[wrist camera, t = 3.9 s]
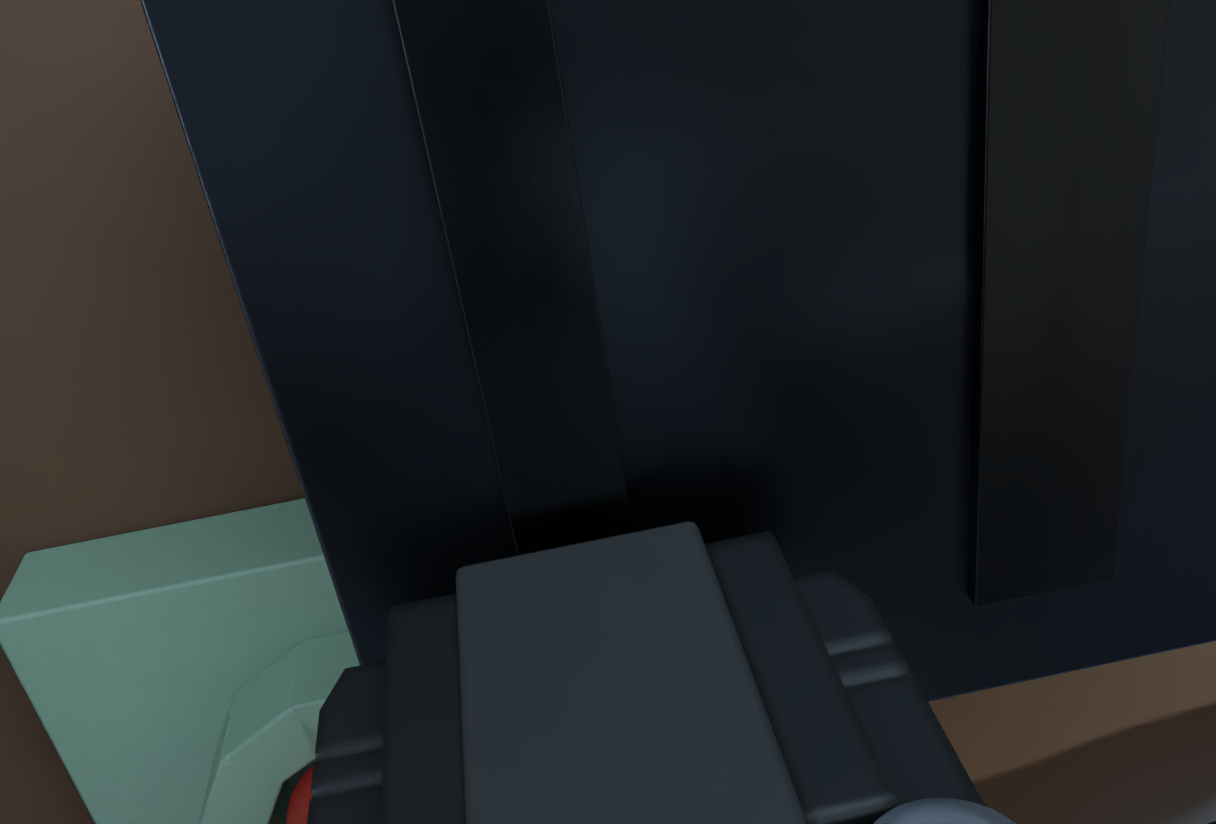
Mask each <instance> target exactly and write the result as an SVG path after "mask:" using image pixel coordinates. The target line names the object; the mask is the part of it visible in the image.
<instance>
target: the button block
mask: <svg viewBox="0 0 1216 824" xmlns="http://www.w3.org/2000/svg"><path fill="white" fill-rule="evenodd" d="M0 645H1V647H2V649H3V651H4V652H5V654H6V656H7V658H8V660H9V662H10V664H11V666H12V667H13V669H14V671H15V673H16V675H17V677H18V679H19V681H20V683H21V684H22V686H23V688H24V690H25V692H26V694H27V696H28V698H29V700H30V701H31V703H32V705H33V707H34V709H35V711H36V713H37V715H38V716H39V718H40V720H41V722H42V724H43V726H44V728H45V730H46V732H47V733H48V735H49V737H50V739H51V741H52V743H53V745H54V747H55V748H56V750H57V752H58V754H59V756H60V758H61V760H62V762H63V764H64V765H65V767H66V769H67V771H68V773H69V775H70V777H71V779H72V781H73V782H74V784H75V786H76V788H77V790H78V792H79V794H80V796H81V797H82V799H83V801H84V803H85V805H86V807H87V809H88V811H89V813H90V814H91V816H92V818H93V820H94V822H95V824H286V820H287V812H288V805H289V801H290V797H291V794H292V792H293V790H294V788H295V786H296V784H297V783H298V781H299V780H300V779H301V777H302V776H303V775H304V774H305V773H306V772H307V771H308V769H309V768H311V767H312V766H313V764H314V762H316V757H315V746H316V737H317V729H318V720H319V711H320V709H321V707H322V705H323V704H324V702H325V700H326V699H327V697H328V696H329V694H330V692H331V691H332V689H333V687H334V686H335V684H336V682H337V681H338V679H339V677H340V676H341V674H342V672H343V671H344V669H345V668H349V667H354V666H359V665H360V664H359V661H358V658H357V655H356V652H355V649H354V646H353V643H352V640H351V637H350V634H349V631H348V628H347V625H346V622H345V619H344V616H343V613H342V610H341V607H340V604H339V601H338V598H337V595H336V592H335V589H334V586H333V583H332V579H331V576H330V573H329V570H328V567H327V564H326V561H325V558H324V555H323V552H322V549H321V546H320V543H319V540H318V537H317V534H316V531H315V528H314V525H313V522H312V519H311V516H310V513H309V510H308V507H307V504H306V501H305V498H303V499H298V500H293V501H288V502H283V503H278V504H273V505H267V506H262V507H257V508H252V509H247V510H242V511H237V512H232V513H227V514H222V515H216V516H211V517H206V518H201V519H196V520H191V521H186V522H181V523H176V524H171V525H165V526H160V527H155V528H150V529H145V530H140V531H135V532H130V533H125V534H120V535H114V536H109V537H104V538H99V539H94V540H89V541H84V542H79V543H74V544H69V545H64V546H58V547H53V548H48V549H43V550H38V551H33V552H28V553H26V554H25V555H24V557H23V559H22V561H21V563H20V565H19V567H18V569H17V570H16V572H15V574H14V576H13V578H12V580H11V582H10V584H9V586H8V588H7V590H6V592H5V594H4V596H3V597H2V599H1V601H0Z"/></svg>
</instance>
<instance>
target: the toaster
mask: <svg viewBox="0 0 1216 824" xmlns="http://www.w3.org/2000/svg"><path fill="white" fill-rule="evenodd" d="M140 1H141V4H142V7H143V11H144V14H145V17H146V20H147V23H148V26H149V29H150V32H151V35H152V38H153V41H154V44H155V47H156V50H157V53H158V56H159V59H160V62H161V65H162V68H163V71H164V74H165V77H166V80H167V83H168V86H169V89H170V92H171V95H172V98H173V101H174V104H175V107H176V110H177V113H178V116H179V119H180V123H181V126H182V129H183V132H184V135H185V138H186V141H187V144H188V147H189V150H190V153H191V156H192V159H193V162H194V165H195V168H196V171H197V174H198V177H199V180H200V183H201V186H202V189H203V192H204V195H205V198H206V201H207V204H208V207H209V210H210V213H211V216H212V219H213V222H214V225H215V228H216V231H217V234H218V238H219V241H220V244H221V247H222V250H223V253H224V256H225V259H226V262H227V265H228V268H229V271H230V274H231V277H232V280H233V283H234V286H235V289H236V292H237V295H238V298H239V301H240V304H241V307H242V310H243V313H244V316H245V319H246V322H247V325H248V328H249V331H250V334H251V337H252V340H253V343H254V346H255V349H256V353H257V356H258V359H259V362H260V365H261V368H262V371H263V374H264V377H265V380H266V383H267V386H268V389H269V392H270V395H271V398H272V401H273V404H274V407H275V410H276V413H277V416H278V419H279V422H280V425H281V428H282V431H283V434H284V437H285V440H286V443H287V446H288V449H289V452H290V455H291V458H292V461H293V464H294V468H295V471H296V474H297V477H298V480H299V483H300V486H301V489H302V492H303V495H304V498H305V501H306V504H307V507H308V510H309V513H310V516H311V519H312V522H313V525H314V528H315V531H316V534H317V537H318V540H319V543H320V546H321V549H322V552H323V555H324V558H325V561H326V564H327V567H328V570H329V573H330V576H331V579H332V583H333V586H334V589H335V592H336V595H337V598H338V601H339V604H340V607H341V610H342V613H343V616H344V619H345V622H346V625H347V628H348V631H349V634H350V637H351V640H352V643H353V646H354V649H355V652H356V655H357V658H358V661H359V664H360V665H364V664H369V663H374V662H379V661H384V660H387V636H388V615H389V609H390V607H391V606H395V605H400V604H405V603H410V602H415V601H420V600H425V599H430V598H435V597H440V596H445V595H450V594H455V593H456V574H457V571H458V569H459V568H461V567H463V566H467V565H472V564H477V563H482V562H487V561H492V560H497V559H502V558H507V557H511V556H516V555H521V554H526V553H531V552H536V551H541V550H546V549H551V548H556V547H561V546H566V545H571V544H576V543H581V542H586V541H591V540H596V539H601V538H606V537H611V536H616V535H621V534H626V533H631V532H636V531H641V530H646V529H651V528H656V527H661V526H666V525H671V524H676V523H681V522H686V521H690V522H694V523H695V524H696V525H697V526H698V528H699V530H700V532H701V535H702V538H703V541H704V543H705V544H706V543H711V542H716V541H721V540H726V539H731V538H736V537H741V536H746V535H751V534H756V533H761V532H766V531H770V532H772V534H773V535H774V537H775V539H776V541H777V543H778V545H779V547H780V549H781V551H782V554H783V556H784V558H785V560H786V562H787V564H788V566H789V569H790V571H791V573H792V575H793V577H799V576H804V575H809V574H814V573H819V572H823V571H828V570H834V571H835V572H837V573H838V574H839V575H841V576H842V577H843V578H845V579H846V580H847V581H849V582H850V583H851V584H853V585H854V586H855V587H857V588H858V589H860V590H861V591H862V592H864V593H865V594H866V595H868V596H869V597H870V598H871V599H872V601H873V603H874V605H875V607H876V608H877V610H878V612H879V614H880V616H881V618H882V619H883V621H884V623H885V625H886V627H887V628H888V630H889V632H890V634H891V638H892V641H893V643H896V645H897V647H898V648H899V650H900V652H901V654H902V656H903V658H904V659H905V661H906V663H907V665H908V669H909V672H910V674H913V676H914V678H915V679H916V681H917V683H918V685H919V687H920V689H921V690H922V692H923V694H924V696H925V698H926V700H927V701H928V702H929V701H933V700H938V699H943V698H948V697H952V696H957V695H962V694H967V693H971V692H976V691H981V690H985V689H990V688H995V687H1000V686H1004V685H1009V684H1014V683H1018V682H1023V681H1028V680H1033V679H1037V678H1042V677H1047V676H1052V675H1056V674H1061V673H1066V672H1070V671H1075V670H1080V669H1085V668H1089V667H1094V666H1099V665H1103V664H1108V663H1113V662H1118V661H1122V660H1127V659H1132V658H1137V657H1141V656H1146V655H1151V654H1155V653H1160V652H1165V651H1170V650H1174V649H1179V648H1184V647H1189V646H1193V645H1198V644H1203V643H1207V642H1212V641H1216V0H140Z"/></svg>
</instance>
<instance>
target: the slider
mask: <svg viewBox="0 0 1216 824" xmlns="http://www.w3.org/2000/svg"><path fill="white" fill-rule="evenodd" d="M456 601H457V627H458V652H459V677H460V702H461V727H462V753H463V778H464V803H465V824H808V822H807V819H806V816H805V814H804V811H803V808H802V805H801V803H800V800H799V797H798V795H797V792H796V789H795V787H794V784H793V781H792V778H791V776H790V773H789V770H788V768H787V765H786V762H785V760H784V757H783V754H782V751H781V749H780V746H779V743H778V741H777V738H776V735H775V733H774V730H773V727H772V724H771V722H770V719H769V716H768V714H767V711H766V708H765V705H764V703H763V700H762V697H761V695H760V692H759V689H758V687H757V684H756V681H755V678H754V676H753V673H752V670H751V668H750V665H749V662H748V660H747V657H746V654H745V651H744V649H743V646H742V643H741V641H740V638H739V635H738V633H737V630H736V627H735V624H734V622H733V619H732V616H731V614H730V611H729V608H728V605H727V603H726V600H725V597H724V595H723V592H722V589H721V587H720V584H719V581H718V578H717V576H716V573H715V570H714V568H713V565H712V562H711V560H710V557H709V554H708V551H707V549H706V546H705V543H704V541H703V538H702V535H701V532H700V530H699V528H698V526H697V525H696V524H695V523H694V522H690V521H686V522H681V523H676V524H671V525H666V526H661V527H656V528H651V529H646V530H641V531H636V532H631V533H626V534H621V535H616V536H611V537H606V538H601V539H596V540H591V541H586V542H581V543H576V544H571V545H566V546H561V547H556V548H551V549H546V550H541V551H536V552H531V553H526V554H521V555H516V556H511V557H507V558H502V559H497V560H492V561H487V562H482V563H477V564H472V565H467V566H463V567H461V568H459V569H458V571H457V574H456Z"/></svg>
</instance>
